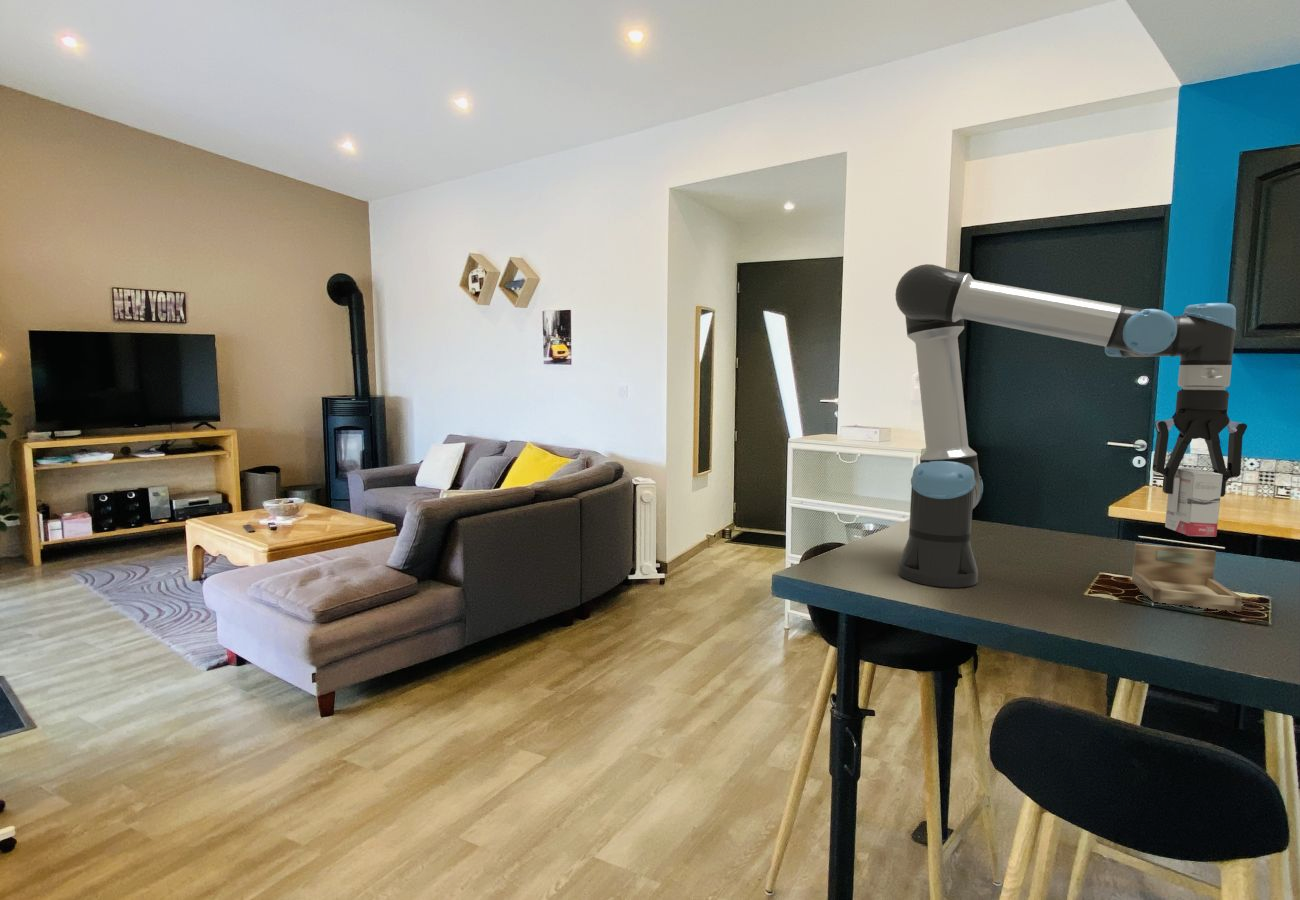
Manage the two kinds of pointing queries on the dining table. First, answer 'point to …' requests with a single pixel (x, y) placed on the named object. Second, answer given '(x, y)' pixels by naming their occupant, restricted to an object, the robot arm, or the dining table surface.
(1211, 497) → the ink box
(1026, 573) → the dining table surface
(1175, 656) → the dining table surface
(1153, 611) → the dining table surface
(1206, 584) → the drawer
